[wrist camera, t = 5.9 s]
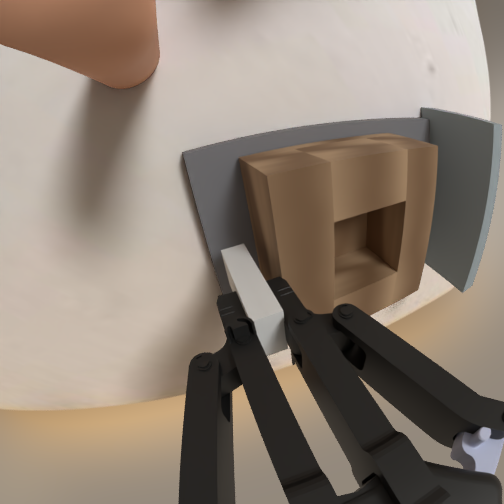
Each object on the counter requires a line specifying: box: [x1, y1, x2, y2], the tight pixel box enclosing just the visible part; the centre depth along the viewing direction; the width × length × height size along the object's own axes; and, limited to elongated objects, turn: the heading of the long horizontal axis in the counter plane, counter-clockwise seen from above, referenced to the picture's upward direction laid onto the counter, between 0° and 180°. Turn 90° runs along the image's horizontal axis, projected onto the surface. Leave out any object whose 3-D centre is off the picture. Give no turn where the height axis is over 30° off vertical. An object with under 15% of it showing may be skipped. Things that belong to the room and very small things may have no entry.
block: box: [238, 133, 438, 346], centre depth 18 cm, size 12×12×5 cm
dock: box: [182, 108, 502, 295], centre depth 18 cm, size 23×16×8 cm
